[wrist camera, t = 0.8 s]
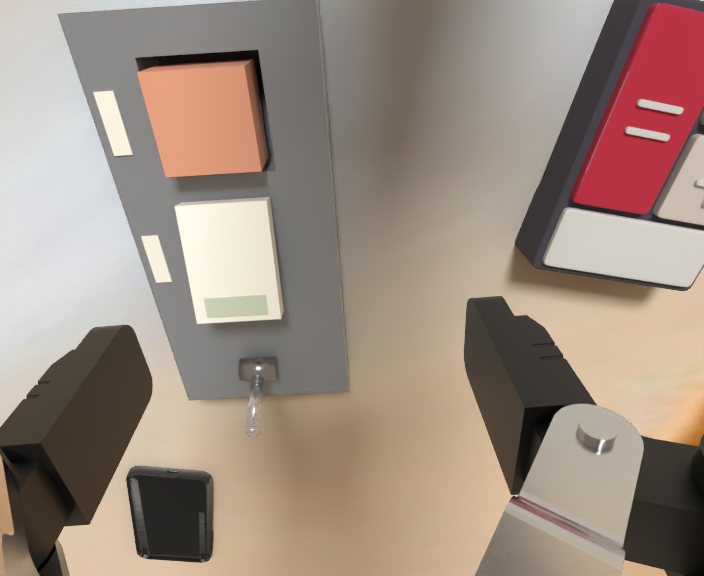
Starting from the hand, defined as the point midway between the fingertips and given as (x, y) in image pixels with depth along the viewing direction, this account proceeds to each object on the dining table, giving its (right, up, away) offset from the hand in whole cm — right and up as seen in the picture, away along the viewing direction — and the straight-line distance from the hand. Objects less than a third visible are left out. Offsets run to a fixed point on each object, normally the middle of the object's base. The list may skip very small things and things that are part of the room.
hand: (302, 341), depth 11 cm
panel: (-6, +5, +20) cm, 21 cm away
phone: (-17, -22, +37) cm, 46 cm away
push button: (-6, +11, +14) cm, 19 cm away
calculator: (+19, +10, +18) cm, 28 cm away
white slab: (-6, +3, +17) cm, 18 cm away
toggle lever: (-5, -3, +21) cm, 22 cm away
